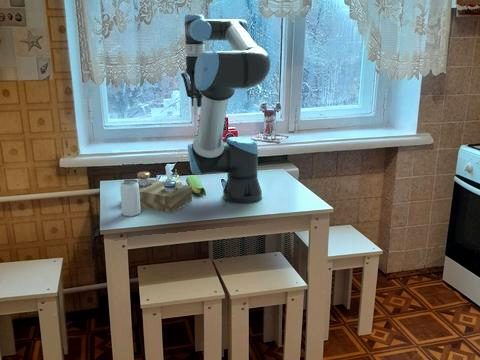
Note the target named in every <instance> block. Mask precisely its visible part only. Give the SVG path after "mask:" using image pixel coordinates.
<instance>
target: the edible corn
mask: <svg viewBox="0 0 480 360" xmlns="http://www.w3.org/2000/svg"><path fill="white" fill-rule="evenodd" d="M185 181H186V185H188V186H192V193H194V194H195V196H196V197H202V198H204V197H205V196H207V192H206V189H205V187H204V186H203V185H202V183H201V180H200V179H199V178H198V177H197V175H195V174H191V175H189V176H187V177H186V179H185Z"/></svg>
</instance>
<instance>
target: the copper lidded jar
mask: <svg viewBox="0 0 480 360" xmlns="http://www.w3.org/2000/svg"><path fill="white" fill-rule="evenodd" d="M136 174H137V176H136V177H137V178H138V181H139V187H144V188H146V187H148V186H150V185H149V179H150V177H151V173H150V172H149V171H139V172H137V173H136Z"/></svg>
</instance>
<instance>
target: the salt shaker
mask: <svg viewBox="0 0 480 360" xmlns="http://www.w3.org/2000/svg"><path fill="white" fill-rule="evenodd" d="M163 182H164V187H165V191H168V192H173V191H175V190H176V189H175V186H176V184H177V181H176V180H165V181H163Z"/></svg>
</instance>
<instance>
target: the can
mask: <svg viewBox="0 0 480 360" xmlns="http://www.w3.org/2000/svg"><path fill="white" fill-rule="evenodd" d="M137 182H138V180H137V179H132V178H129V179H124V180H123V179H122V180H121V181H120V186H119V190H120V191H119V192H120V203H121V213H122V215H123V216H124V217H136V216H139V215H140V214H141V207H140V194H139V184H138V183H137Z"/></svg>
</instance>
